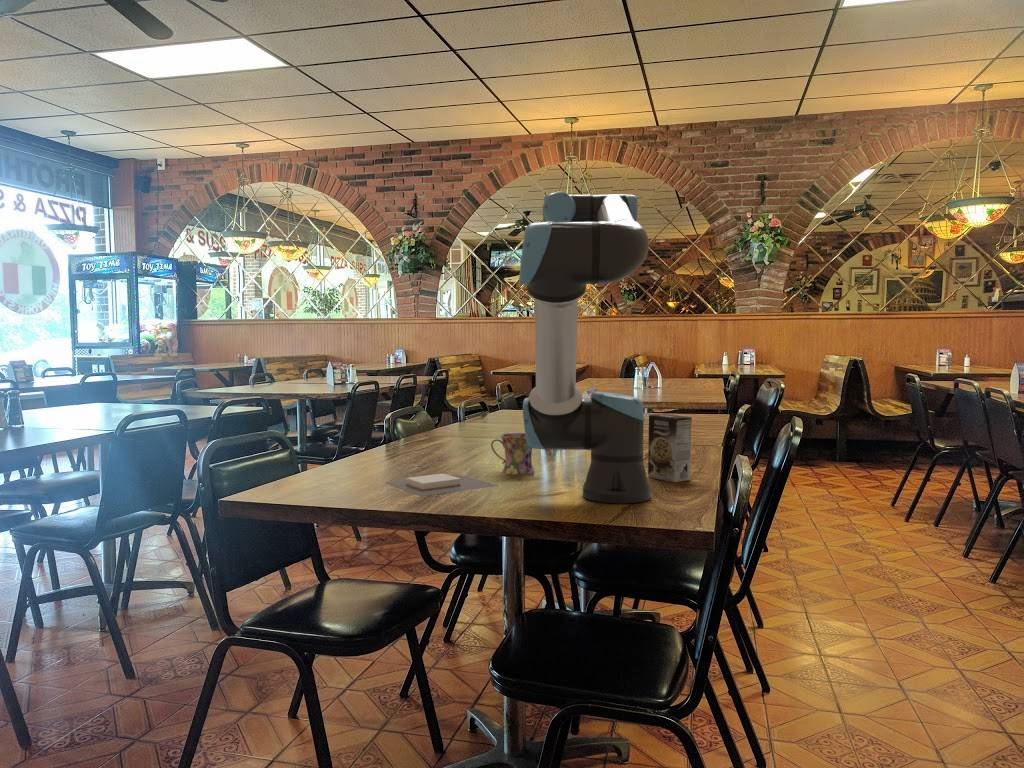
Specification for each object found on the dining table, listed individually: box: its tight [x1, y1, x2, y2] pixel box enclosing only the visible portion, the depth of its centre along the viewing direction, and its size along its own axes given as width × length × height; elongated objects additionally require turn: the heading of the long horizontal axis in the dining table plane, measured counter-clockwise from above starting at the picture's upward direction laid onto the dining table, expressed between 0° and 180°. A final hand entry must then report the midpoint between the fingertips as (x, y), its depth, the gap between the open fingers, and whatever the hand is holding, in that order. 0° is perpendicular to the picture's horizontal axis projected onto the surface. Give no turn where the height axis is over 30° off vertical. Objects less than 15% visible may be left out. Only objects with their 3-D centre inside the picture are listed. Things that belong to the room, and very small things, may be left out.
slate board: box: [386, 473, 498, 497], centre depth 172 cm, size 18×20×1 cm
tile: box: [405, 473, 461, 490], centre depth 171 cm, size 8×2×10 cm
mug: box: [490, 432, 536, 476], centre depth 189 cm, size 12×9×11 cm
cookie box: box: [647, 413, 693, 483], centre depth 186 cm, size 9×6×16 cm
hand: (557, 350), depth 186 cm, fingers closed
